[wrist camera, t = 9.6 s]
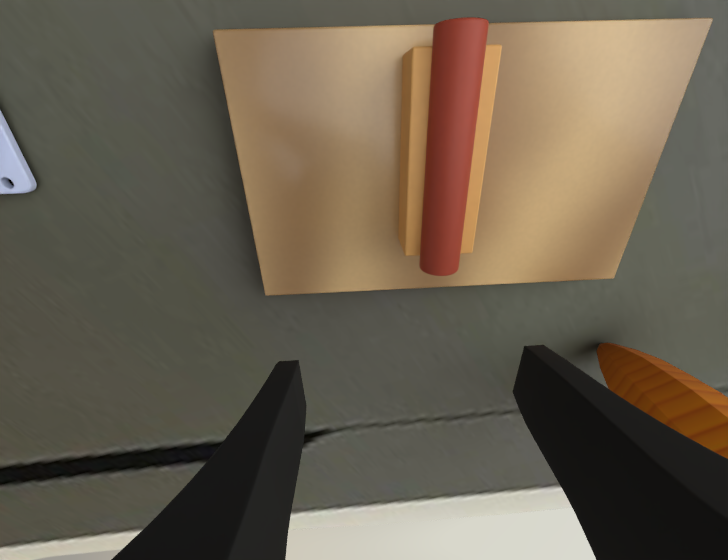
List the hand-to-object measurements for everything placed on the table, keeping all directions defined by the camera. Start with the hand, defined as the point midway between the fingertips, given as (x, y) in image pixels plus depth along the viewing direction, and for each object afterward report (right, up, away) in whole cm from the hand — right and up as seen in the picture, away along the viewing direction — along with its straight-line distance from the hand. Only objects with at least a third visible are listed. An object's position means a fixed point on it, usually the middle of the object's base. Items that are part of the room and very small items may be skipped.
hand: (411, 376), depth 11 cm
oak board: (+3, +9, +6) cm, 11 cm away
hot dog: (+2, +9, +5) cm, 10 cm away
